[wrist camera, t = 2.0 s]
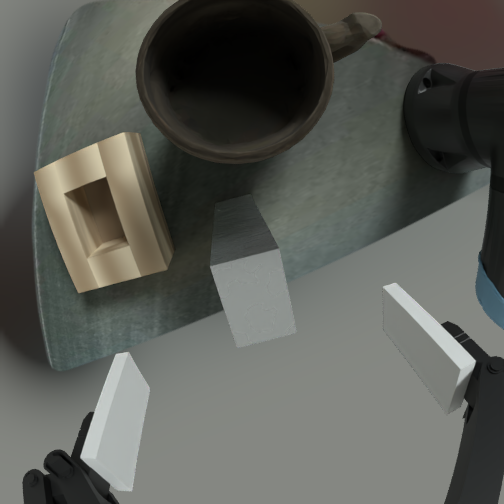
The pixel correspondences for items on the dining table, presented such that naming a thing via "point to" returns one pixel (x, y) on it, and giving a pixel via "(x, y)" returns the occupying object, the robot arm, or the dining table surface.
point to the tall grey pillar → (249, 273)
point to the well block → (106, 213)
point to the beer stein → (242, 74)
